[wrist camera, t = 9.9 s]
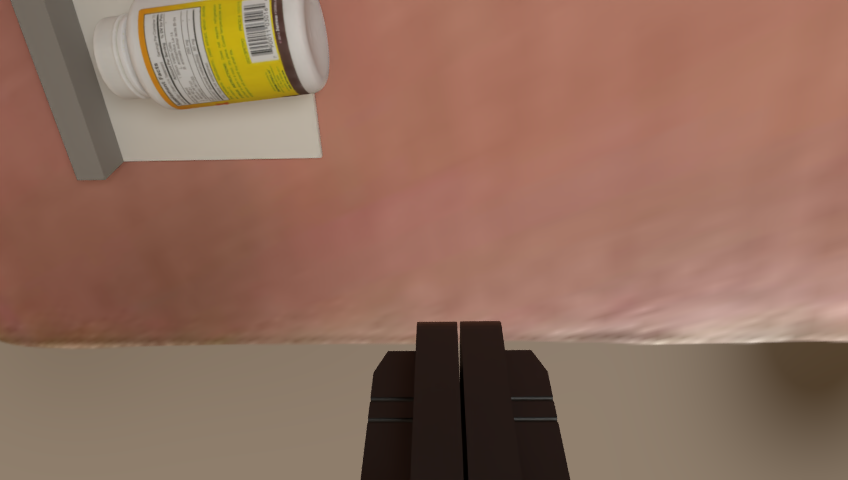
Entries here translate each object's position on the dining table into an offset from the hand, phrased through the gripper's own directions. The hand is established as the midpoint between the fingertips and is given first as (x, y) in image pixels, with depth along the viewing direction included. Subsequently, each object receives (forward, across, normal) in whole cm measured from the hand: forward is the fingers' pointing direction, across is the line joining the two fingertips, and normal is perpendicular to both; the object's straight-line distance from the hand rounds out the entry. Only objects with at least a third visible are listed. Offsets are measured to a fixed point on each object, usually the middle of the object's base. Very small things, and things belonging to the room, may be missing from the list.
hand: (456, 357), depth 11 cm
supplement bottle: (+22, +6, 0) cm, 22 cm away
